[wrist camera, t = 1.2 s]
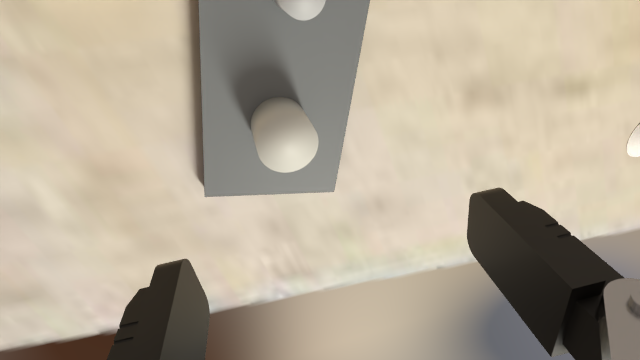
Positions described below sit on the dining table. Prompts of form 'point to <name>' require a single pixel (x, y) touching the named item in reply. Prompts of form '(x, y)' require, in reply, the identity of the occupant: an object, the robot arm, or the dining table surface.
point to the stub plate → (276, 92)
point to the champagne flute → (634, 143)
